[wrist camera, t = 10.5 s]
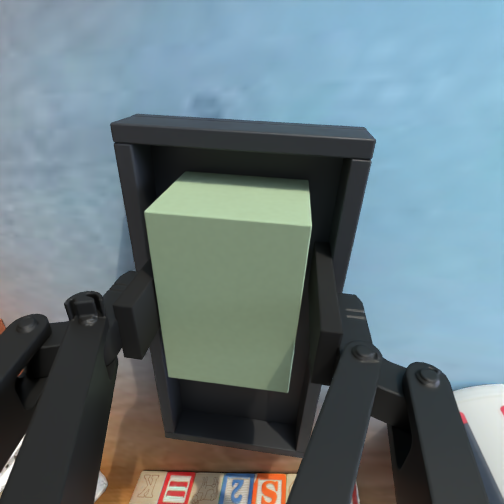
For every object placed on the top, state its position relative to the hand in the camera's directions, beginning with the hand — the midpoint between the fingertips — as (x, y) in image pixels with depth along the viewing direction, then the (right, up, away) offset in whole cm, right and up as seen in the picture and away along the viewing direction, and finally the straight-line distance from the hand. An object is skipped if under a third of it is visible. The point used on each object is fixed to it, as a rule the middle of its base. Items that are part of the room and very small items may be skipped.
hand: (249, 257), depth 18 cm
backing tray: (0, -3, +3) cm, 5 cm away
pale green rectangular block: (0, 0, 0) cm, 0 cm away
